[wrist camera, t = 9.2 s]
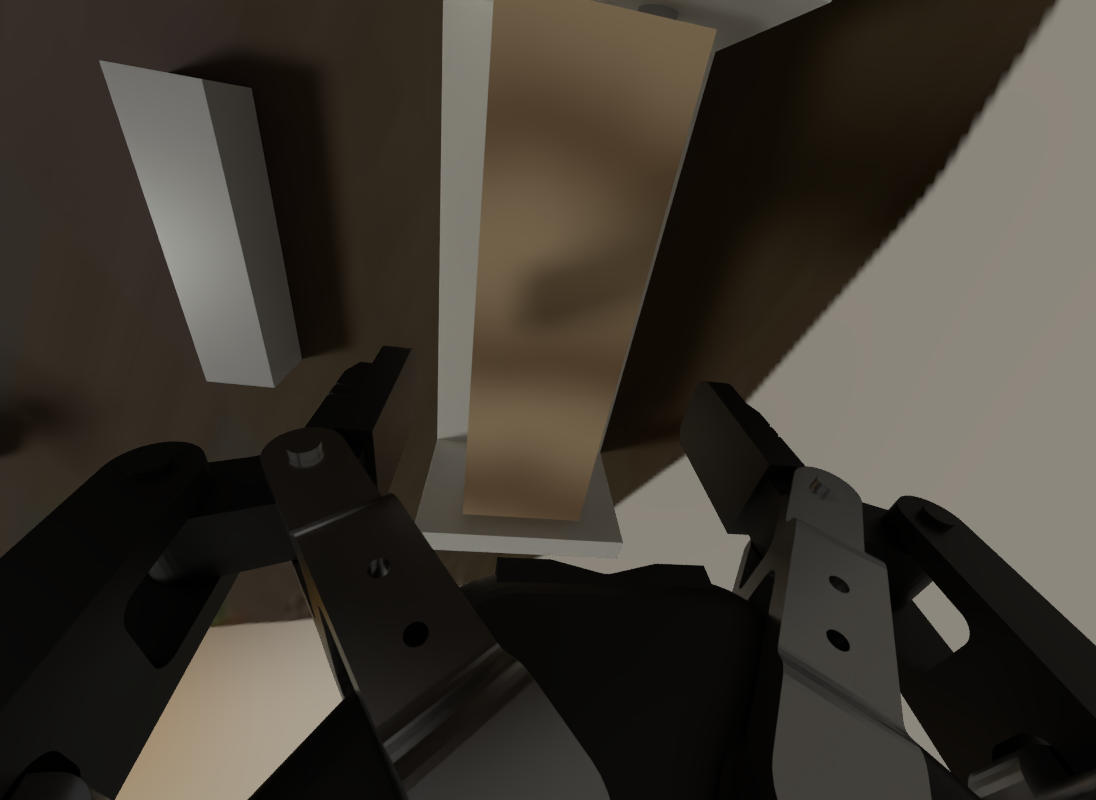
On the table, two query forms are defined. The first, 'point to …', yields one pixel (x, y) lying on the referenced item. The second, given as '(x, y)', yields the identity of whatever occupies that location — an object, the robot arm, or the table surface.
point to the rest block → (212, 217)
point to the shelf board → (567, 235)
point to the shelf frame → (720, 3)
